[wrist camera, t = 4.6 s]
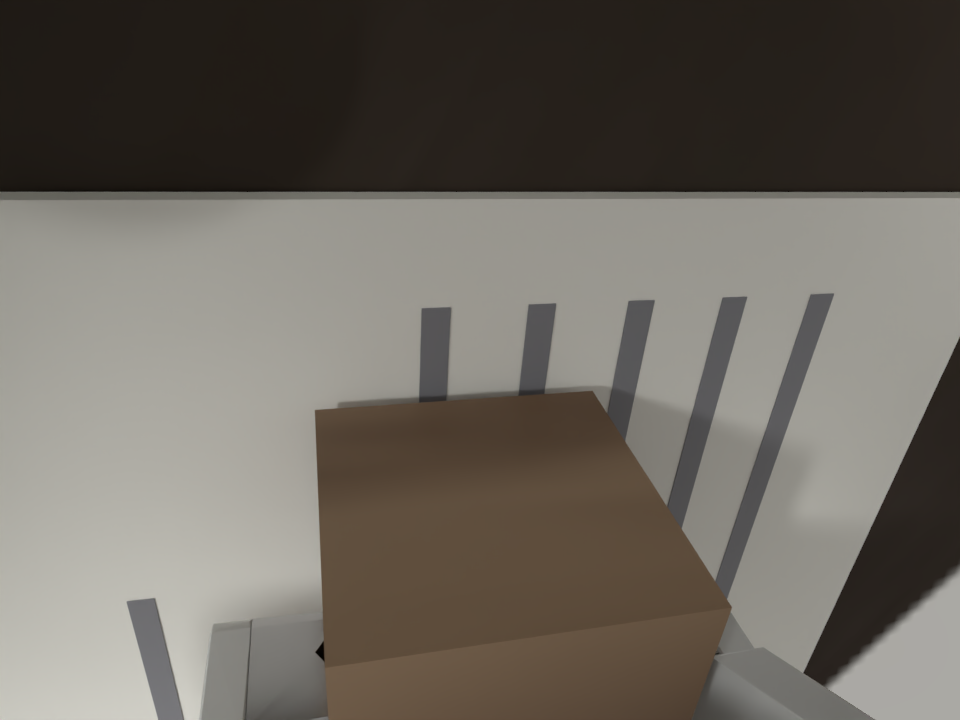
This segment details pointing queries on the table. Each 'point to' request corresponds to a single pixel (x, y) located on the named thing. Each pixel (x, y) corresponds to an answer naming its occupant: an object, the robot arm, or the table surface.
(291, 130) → the table surface
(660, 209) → the letter
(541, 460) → the walnut block
